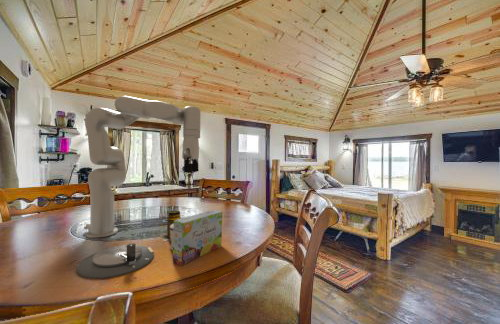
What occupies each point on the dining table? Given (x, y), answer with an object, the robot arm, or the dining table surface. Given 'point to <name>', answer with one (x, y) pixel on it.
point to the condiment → (170, 220)
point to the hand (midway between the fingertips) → (191, 172)
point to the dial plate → (92, 271)
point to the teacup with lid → (171, 236)
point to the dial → (117, 256)
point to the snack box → (196, 236)
